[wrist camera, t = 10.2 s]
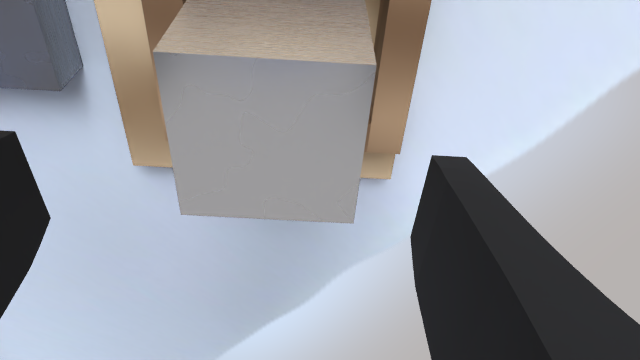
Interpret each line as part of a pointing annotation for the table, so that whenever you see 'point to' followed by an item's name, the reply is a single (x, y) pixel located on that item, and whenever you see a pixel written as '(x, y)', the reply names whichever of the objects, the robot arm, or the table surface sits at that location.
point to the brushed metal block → (267, 106)
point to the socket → (37, 45)
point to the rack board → (145, 101)
